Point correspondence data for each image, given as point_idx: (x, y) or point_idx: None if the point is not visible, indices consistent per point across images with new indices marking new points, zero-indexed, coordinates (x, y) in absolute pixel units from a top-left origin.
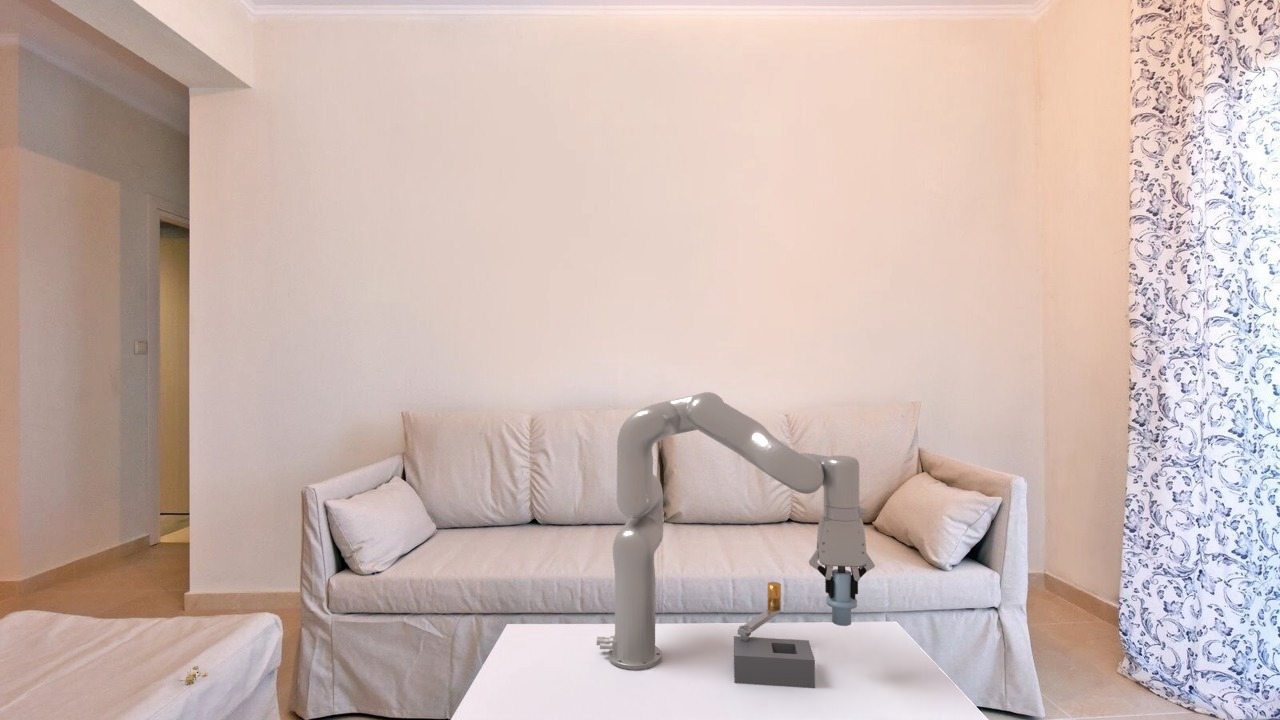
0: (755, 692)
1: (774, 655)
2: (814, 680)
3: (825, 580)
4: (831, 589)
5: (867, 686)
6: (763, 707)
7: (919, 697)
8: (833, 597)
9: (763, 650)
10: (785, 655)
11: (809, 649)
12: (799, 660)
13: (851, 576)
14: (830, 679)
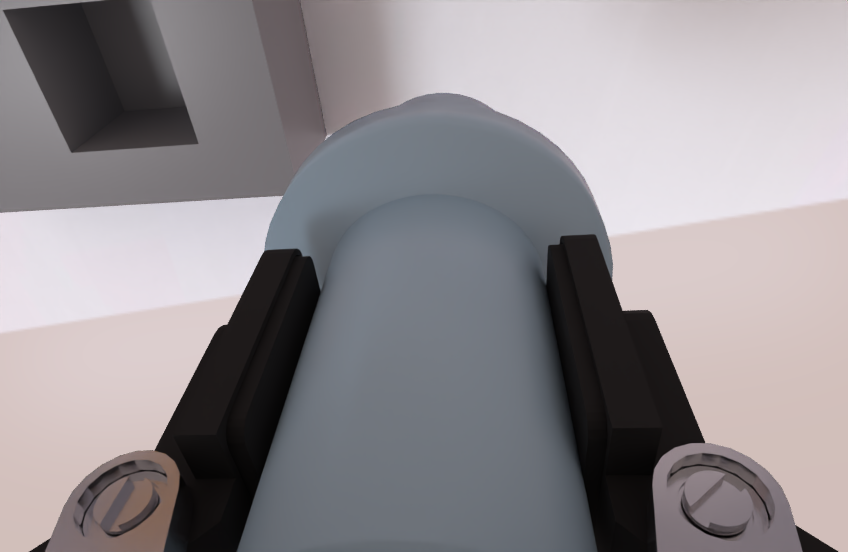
0: (108, 211)
1: (89, 180)
2: None
3: (171, 441)
4: None
5: (568, 67)
6: (169, 295)
7: (780, 123)
8: None
9: (11, 134)
10: (142, 170)
11: (254, 63)
12: (224, 196)
13: (609, 549)
14: (397, 31)
